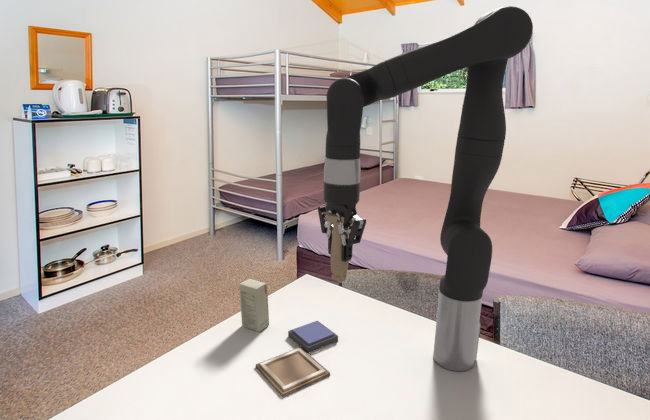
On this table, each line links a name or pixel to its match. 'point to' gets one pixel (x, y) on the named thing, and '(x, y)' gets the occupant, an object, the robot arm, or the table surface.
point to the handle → (337, 250)
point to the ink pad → (312, 336)
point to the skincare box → (254, 304)
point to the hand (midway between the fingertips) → (339, 256)
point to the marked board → (292, 371)
